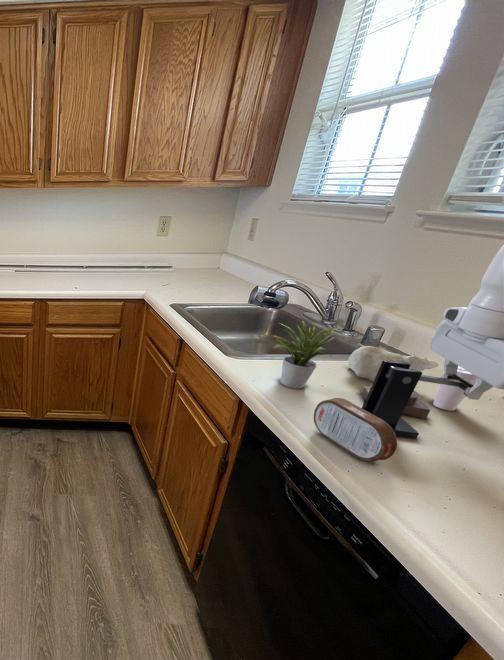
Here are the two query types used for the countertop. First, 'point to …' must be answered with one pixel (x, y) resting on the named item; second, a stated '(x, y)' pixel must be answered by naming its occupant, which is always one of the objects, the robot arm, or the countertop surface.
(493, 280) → the robot arm
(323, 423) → the tin
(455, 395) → the smoothie
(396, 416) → the bracket
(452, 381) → the lever
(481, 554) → the countertop surface
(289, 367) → the house plant
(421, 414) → the button block
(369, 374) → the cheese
